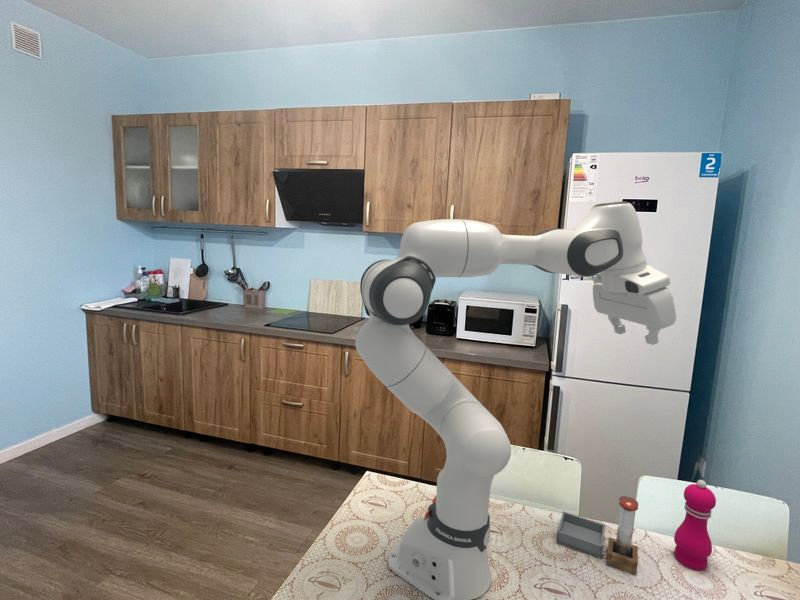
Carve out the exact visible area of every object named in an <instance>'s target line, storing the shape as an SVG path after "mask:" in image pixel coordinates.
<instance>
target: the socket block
mask: <svg viewBox="0 0 800 600" xmlns="http://www.w3.org/2000/svg"><path fill="white" fill-rule="evenodd" d="M616 539H617V538H612V537H610V536H609V537H608V544H607V549H606V550H607V551H606V562H605V566H608V567H611V568H614V569H617V570H620V571H622V572H625V573H628V574H630V575H634V576H637V571H638V563H639V562H638V561H639V553H638V550H639V546H637V545H634V544H631V550H630V558H629V557H626V556H623V555H620V554H618V553H615V547H616Z"/></svg>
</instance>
